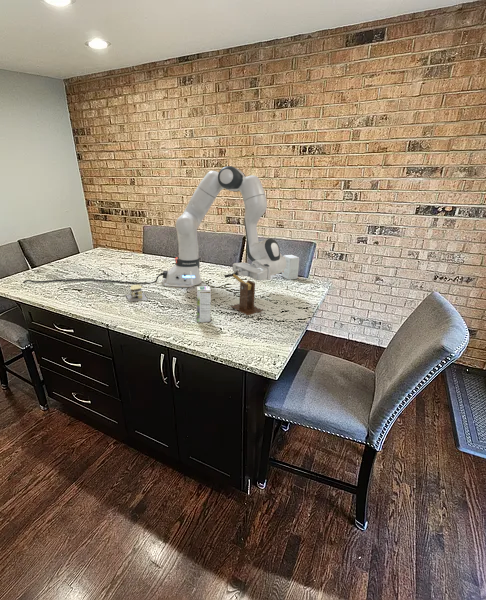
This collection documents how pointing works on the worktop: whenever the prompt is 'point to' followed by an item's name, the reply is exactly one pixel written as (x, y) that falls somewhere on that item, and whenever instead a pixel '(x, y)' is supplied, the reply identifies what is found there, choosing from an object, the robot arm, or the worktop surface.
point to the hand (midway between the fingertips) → (236, 273)
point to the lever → (238, 279)
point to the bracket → (247, 299)
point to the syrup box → (203, 303)
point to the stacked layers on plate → (136, 293)
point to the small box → (291, 267)
